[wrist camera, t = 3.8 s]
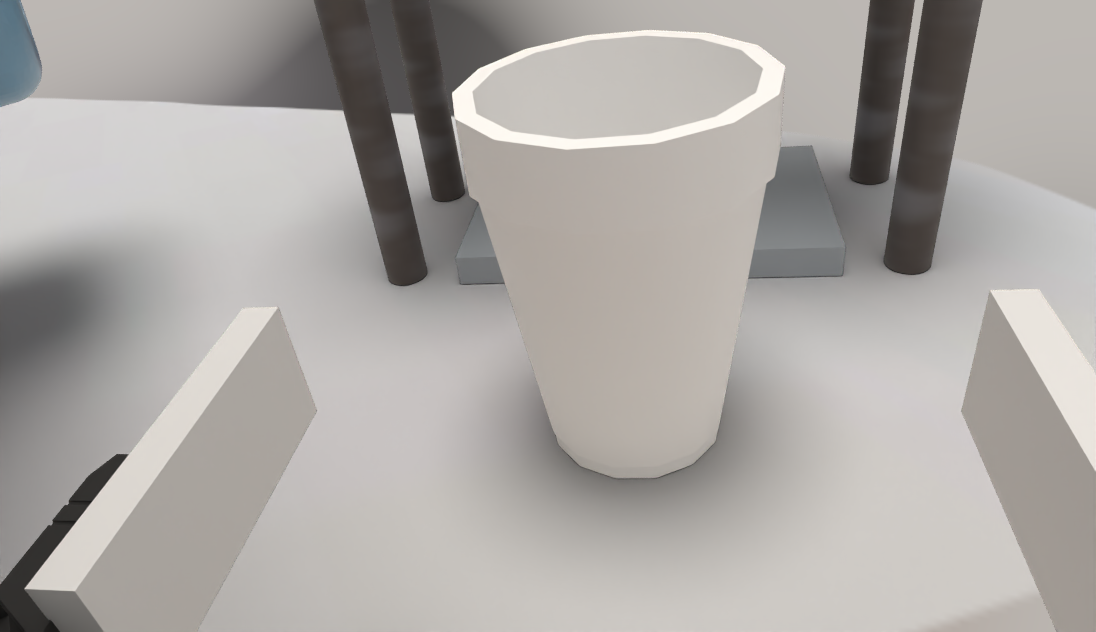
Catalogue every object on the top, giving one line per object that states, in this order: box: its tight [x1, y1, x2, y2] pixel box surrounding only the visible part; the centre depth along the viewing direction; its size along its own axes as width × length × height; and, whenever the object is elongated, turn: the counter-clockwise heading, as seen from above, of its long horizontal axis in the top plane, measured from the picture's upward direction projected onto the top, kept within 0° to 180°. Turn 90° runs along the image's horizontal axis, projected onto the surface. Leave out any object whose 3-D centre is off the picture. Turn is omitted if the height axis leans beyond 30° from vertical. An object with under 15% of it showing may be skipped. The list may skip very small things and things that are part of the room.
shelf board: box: [455, 146, 846, 284], centre depth 42 cm, size 18×11×2 cm, turn 83°
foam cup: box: [452, 30, 785, 478], centre depth 26 cm, size 10×9×13 cm
